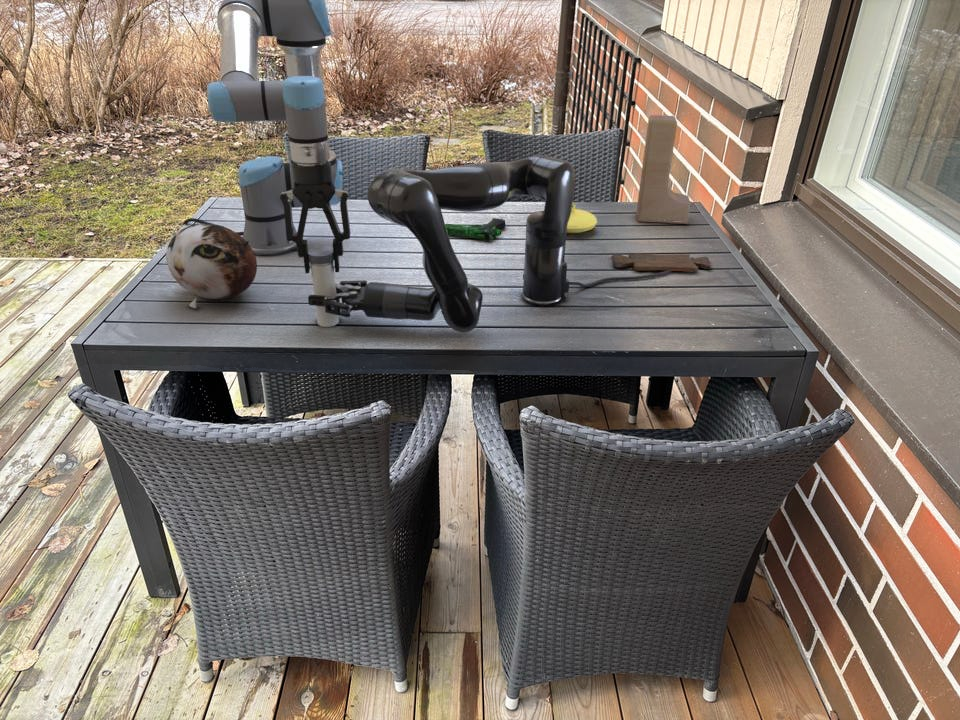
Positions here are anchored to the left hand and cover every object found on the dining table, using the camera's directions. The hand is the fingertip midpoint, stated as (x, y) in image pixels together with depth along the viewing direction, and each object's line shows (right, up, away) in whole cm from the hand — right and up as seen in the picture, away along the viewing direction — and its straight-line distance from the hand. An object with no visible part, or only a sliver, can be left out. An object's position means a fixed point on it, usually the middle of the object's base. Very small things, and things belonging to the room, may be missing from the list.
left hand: (322, 270), depth 152 cm
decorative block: (+89, +24, +67) cm, 114 cm away
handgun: (+33, +18, +55) cm, 67 cm away
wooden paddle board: (+82, +6, +36) cm, 89 cm away
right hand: (-3, -5, +3) cm, 7 cm away
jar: (0, -11, +6) cm, 13 cm away
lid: (0, +3, -2) cm, 4 cm away
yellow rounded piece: (+60, +19, +59) cm, 86 cm away
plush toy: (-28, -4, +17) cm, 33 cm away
